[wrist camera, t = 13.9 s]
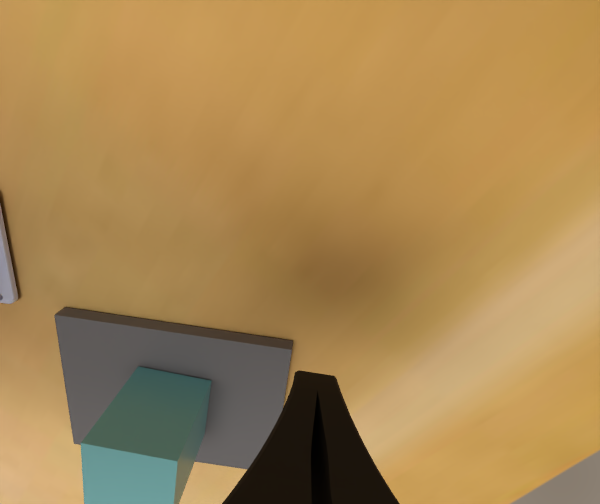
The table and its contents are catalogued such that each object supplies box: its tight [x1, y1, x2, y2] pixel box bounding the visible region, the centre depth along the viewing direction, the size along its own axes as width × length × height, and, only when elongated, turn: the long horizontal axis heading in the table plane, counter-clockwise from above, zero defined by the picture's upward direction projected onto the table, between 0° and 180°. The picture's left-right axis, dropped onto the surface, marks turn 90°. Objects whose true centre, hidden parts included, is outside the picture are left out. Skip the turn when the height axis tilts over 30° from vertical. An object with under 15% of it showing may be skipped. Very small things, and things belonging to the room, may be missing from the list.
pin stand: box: [55, 307, 293, 469], centre depth 22 cm, size 16×12×6 cm
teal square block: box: [81, 366, 211, 504], centre depth 21 cm, size 5×5×6 cm
